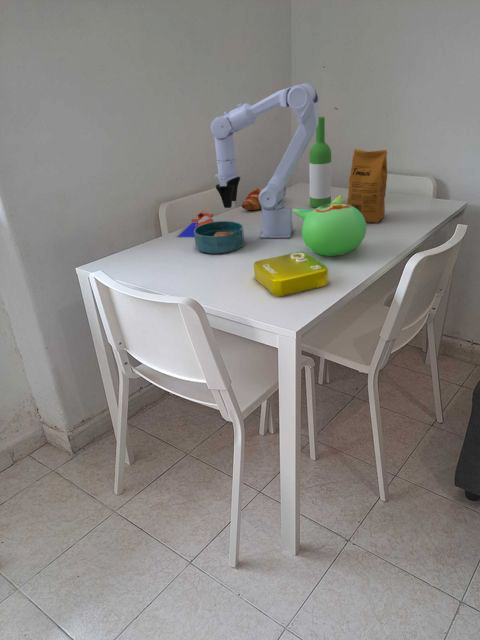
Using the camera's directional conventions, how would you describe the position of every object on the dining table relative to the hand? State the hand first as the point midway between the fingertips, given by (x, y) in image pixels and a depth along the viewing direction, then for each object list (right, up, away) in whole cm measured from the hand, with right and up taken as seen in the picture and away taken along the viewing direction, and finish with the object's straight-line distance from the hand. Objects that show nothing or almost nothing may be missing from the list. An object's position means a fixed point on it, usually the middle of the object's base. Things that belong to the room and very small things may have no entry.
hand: (230, 204), depth 158 cm
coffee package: (+45, -2, +9) cm, 46 cm away
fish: (-10, -6, +10) cm, 15 cm away
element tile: (+17, -29, -32) cm, 46 cm away
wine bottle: (+32, +7, +26) cm, 41 cm away
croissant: (+10, +8, +31) cm, 33 cm away
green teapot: (+30, -19, -16) cm, 39 cm away
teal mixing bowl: (-3, -15, -5) cm, 16 cm away
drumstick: (-3, -14, -6) cm, 16 cm away
